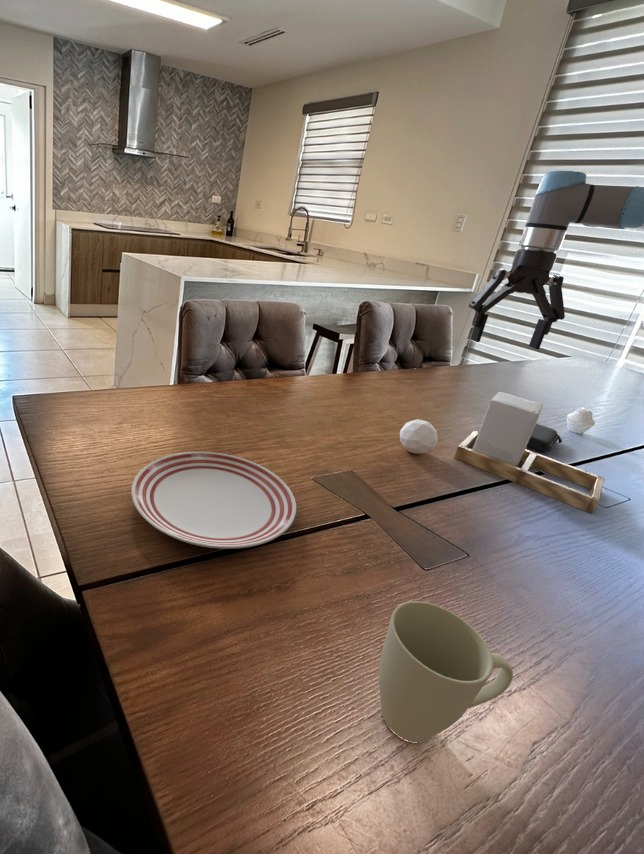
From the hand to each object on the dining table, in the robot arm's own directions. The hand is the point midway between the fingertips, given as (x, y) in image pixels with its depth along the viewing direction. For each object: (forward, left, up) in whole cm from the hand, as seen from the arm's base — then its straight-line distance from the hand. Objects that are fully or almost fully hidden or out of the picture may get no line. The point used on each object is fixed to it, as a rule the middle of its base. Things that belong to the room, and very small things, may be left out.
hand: (504, 344), depth 110 cm
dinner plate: (+21, +75, -24) cm, 81 cm away
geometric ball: (+6, +22, -24) cm, 33 cm away
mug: (-17, +85, -24) cm, 90 cm away
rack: (-14, +10, -24) cm, 30 cm away
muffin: (-19, -32, -24) cm, 45 cm away
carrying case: (-12, -12, -24) cm, 30 cm away
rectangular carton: (-8, +10, -24) cm, 27 cm away
